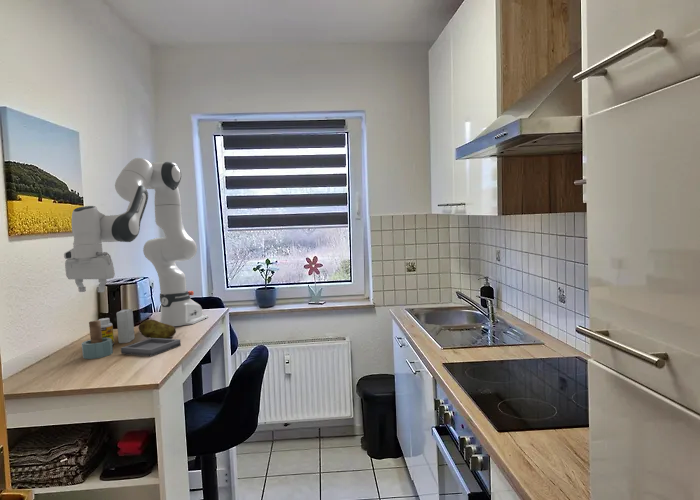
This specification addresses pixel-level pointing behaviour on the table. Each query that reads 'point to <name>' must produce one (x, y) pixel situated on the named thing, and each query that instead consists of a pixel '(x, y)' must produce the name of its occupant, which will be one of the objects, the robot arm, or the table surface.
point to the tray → (150, 346)
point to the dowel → (95, 331)
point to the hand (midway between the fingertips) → (91, 292)
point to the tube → (97, 349)
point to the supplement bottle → (107, 329)
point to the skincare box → (125, 326)
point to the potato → (156, 329)
